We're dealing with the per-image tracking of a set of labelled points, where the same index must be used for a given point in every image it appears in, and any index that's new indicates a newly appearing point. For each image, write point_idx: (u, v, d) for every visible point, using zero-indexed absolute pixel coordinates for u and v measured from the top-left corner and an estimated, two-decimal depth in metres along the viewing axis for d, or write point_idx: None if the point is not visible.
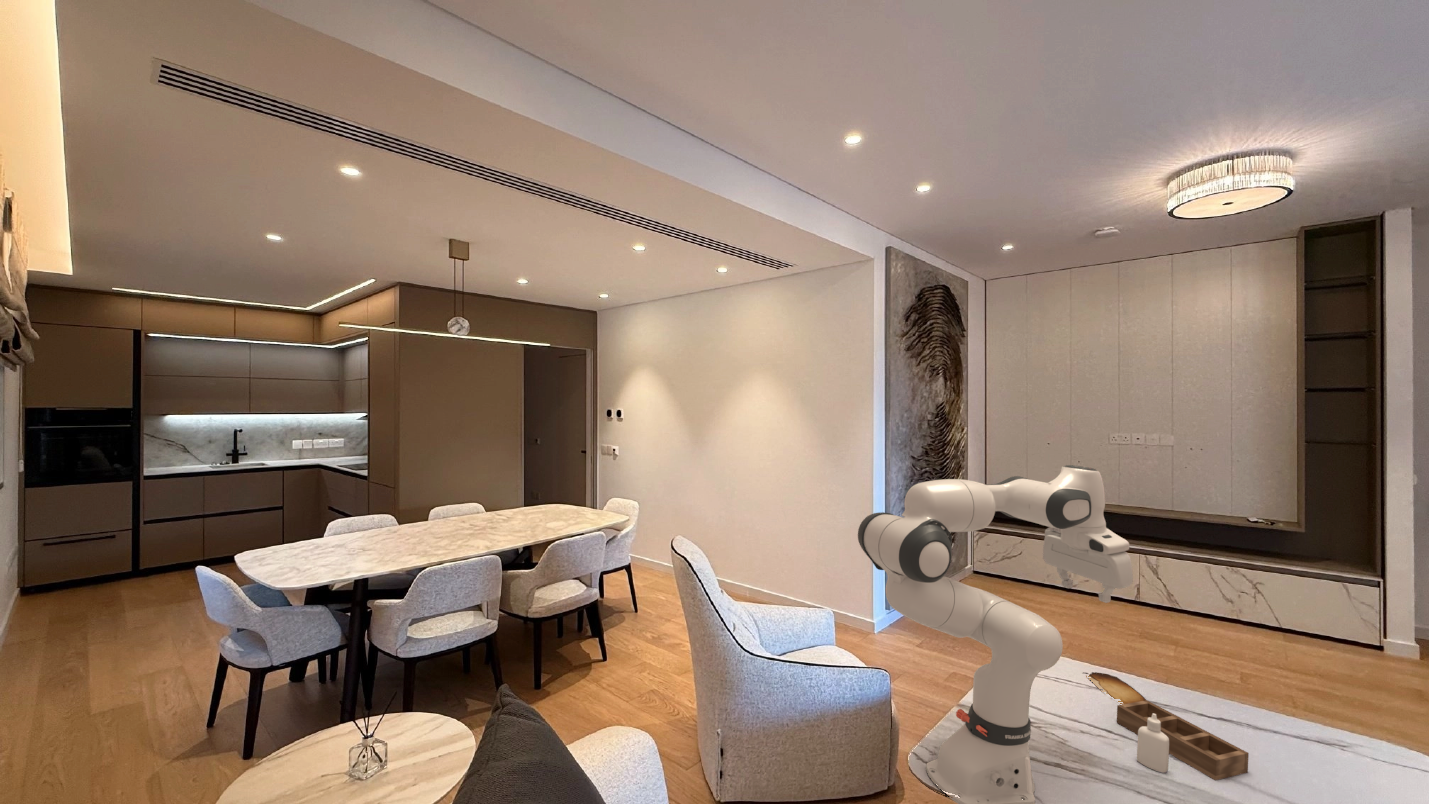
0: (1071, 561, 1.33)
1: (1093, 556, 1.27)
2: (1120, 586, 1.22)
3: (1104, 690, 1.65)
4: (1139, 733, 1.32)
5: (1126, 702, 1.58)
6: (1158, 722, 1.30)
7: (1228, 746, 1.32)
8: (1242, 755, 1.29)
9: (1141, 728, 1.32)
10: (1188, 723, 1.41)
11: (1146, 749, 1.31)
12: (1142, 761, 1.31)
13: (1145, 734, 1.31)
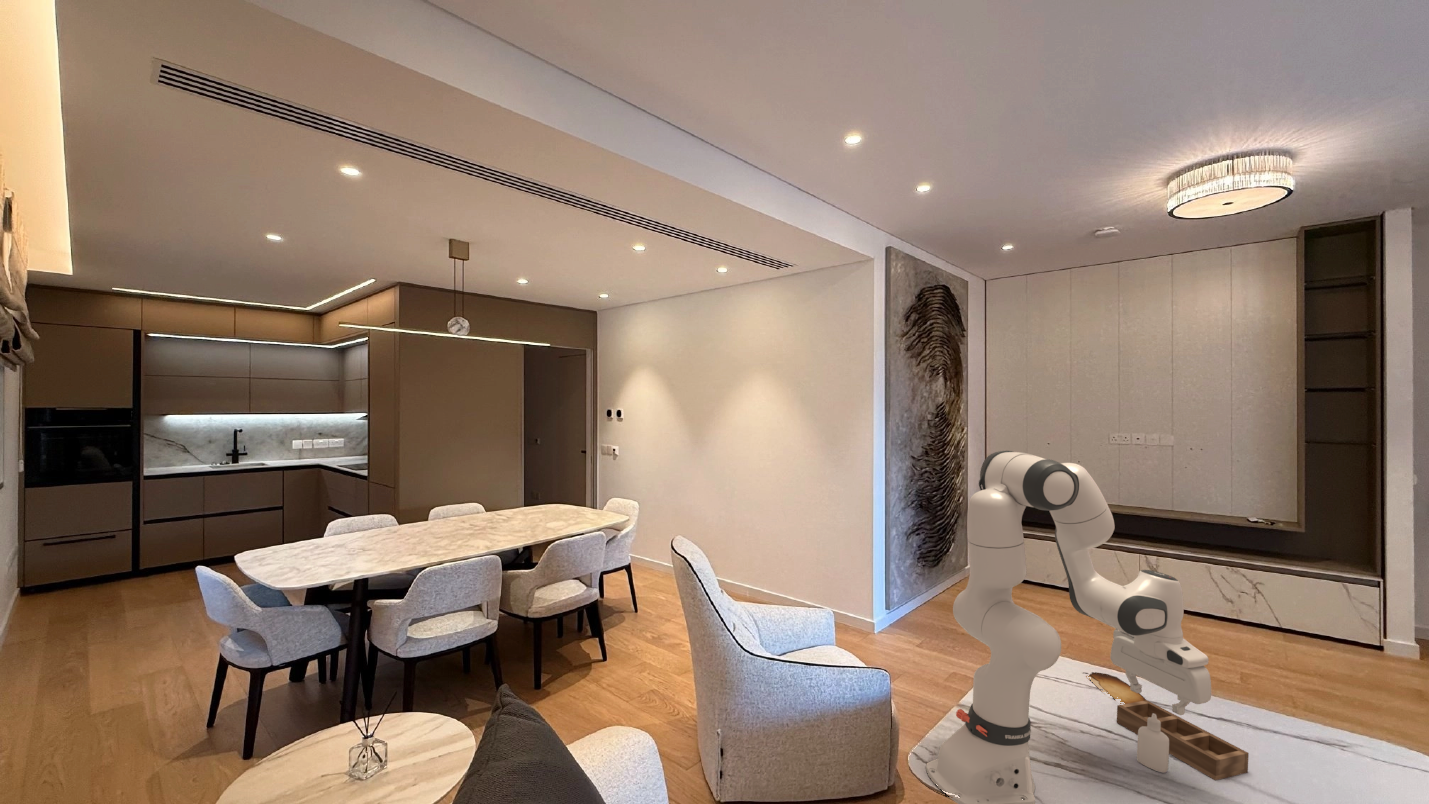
0: (1143, 667, 1.32)
1: (1169, 666, 1.26)
2: (1198, 702, 1.21)
3: (1104, 690, 1.65)
4: (1139, 733, 1.32)
5: (1126, 702, 1.58)
6: (1158, 722, 1.30)
7: (1228, 746, 1.32)
8: (1242, 755, 1.29)
9: (1141, 728, 1.32)
10: (1188, 723, 1.41)
11: (1146, 749, 1.31)
12: (1142, 761, 1.31)
13: (1145, 734, 1.31)
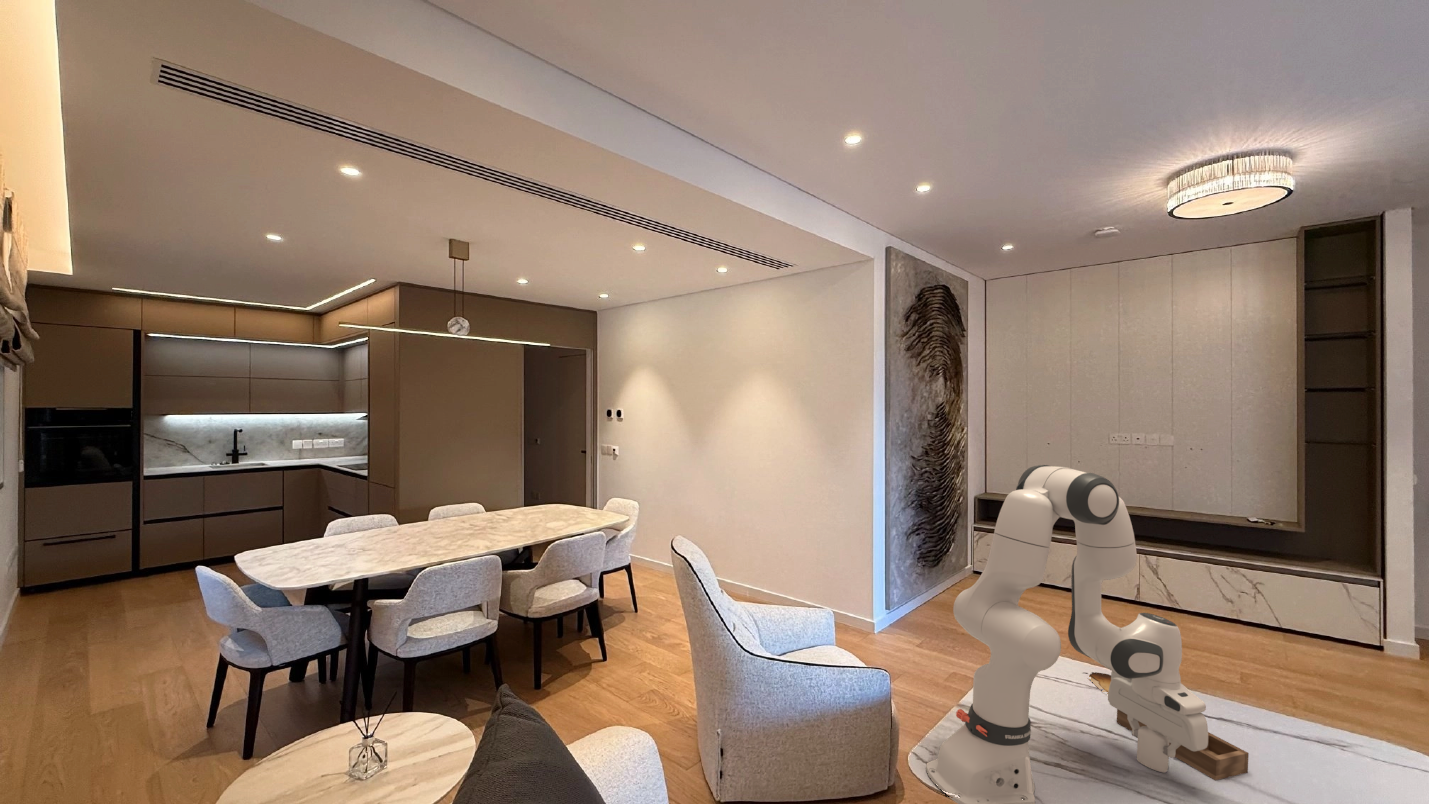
0: (1140, 711, 1.32)
1: (1166, 712, 1.27)
2: (1195, 749, 1.21)
3: (1104, 690, 1.65)
4: (1139, 733, 1.32)
5: None
6: None
7: (1228, 746, 1.32)
8: (1242, 755, 1.29)
9: (1141, 728, 1.32)
10: None
11: (1146, 749, 1.31)
12: (1142, 761, 1.31)
13: (1145, 734, 1.31)
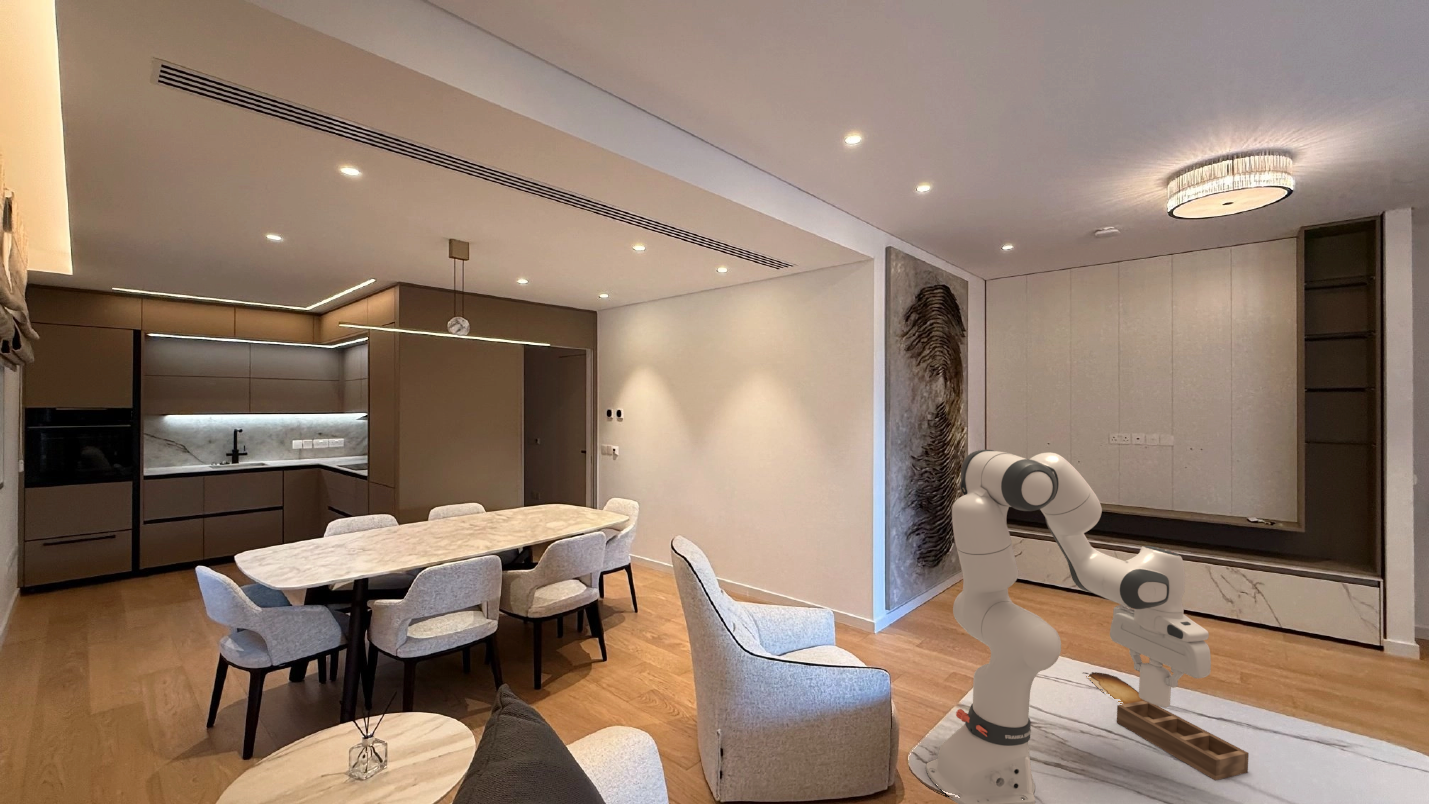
0: (1142, 643, 1.32)
1: (1169, 641, 1.26)
2: (1198, 676, 1.21)
3: (1104, 690, 1.65)
4: (1141, 669, 1.32)
5: (1126, 702, 1.58)
6: None
7: (1228, 746, 1.32)
8: (1242, 755, 1.29)
9: (1143, 664, 1.32)
10: (1188, 723, 1.41)
11: (1148, 684, 1.30)
12: (1144, 697, 1.31)
13: (1147, 669, 1.31)
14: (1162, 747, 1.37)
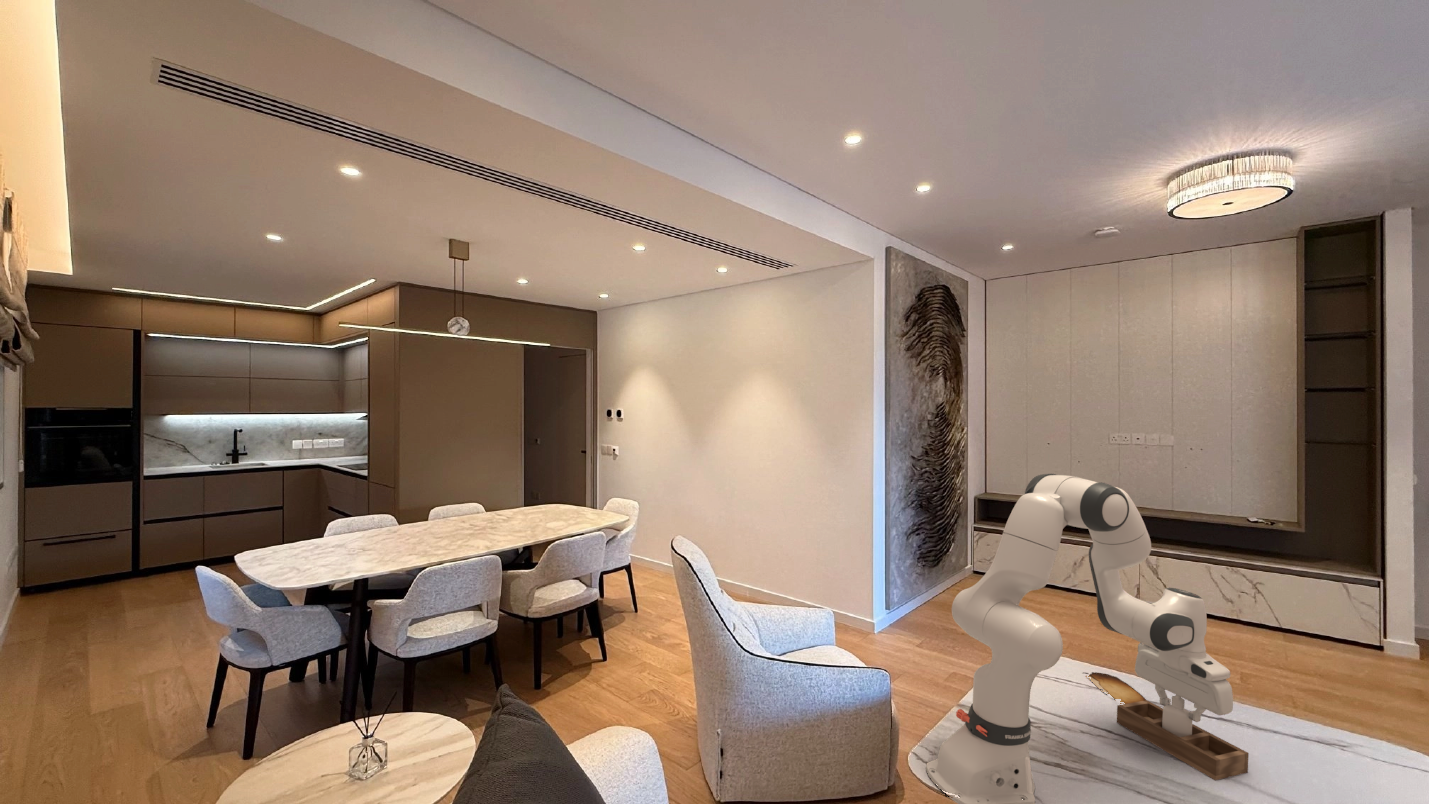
0: (1167, 680, 1.40)
1: (1193, 679, 1.34)
2: (1221, 713, 1.29)
3: (1104, 690, 1.65)
4: (1164, 712, 1.40)
5: (1126, 702, 1.58)
6: (1182, 700, 1.38)
7: (1228, 746, 1.32)
8: (1242, 755, 1.29)
9: (1166, 707, 1.40)
10: None
11: (1172, 726, 1.38)
12: None
13: (1171, 712, 1.39)
14: (1162, 747, 1.37)
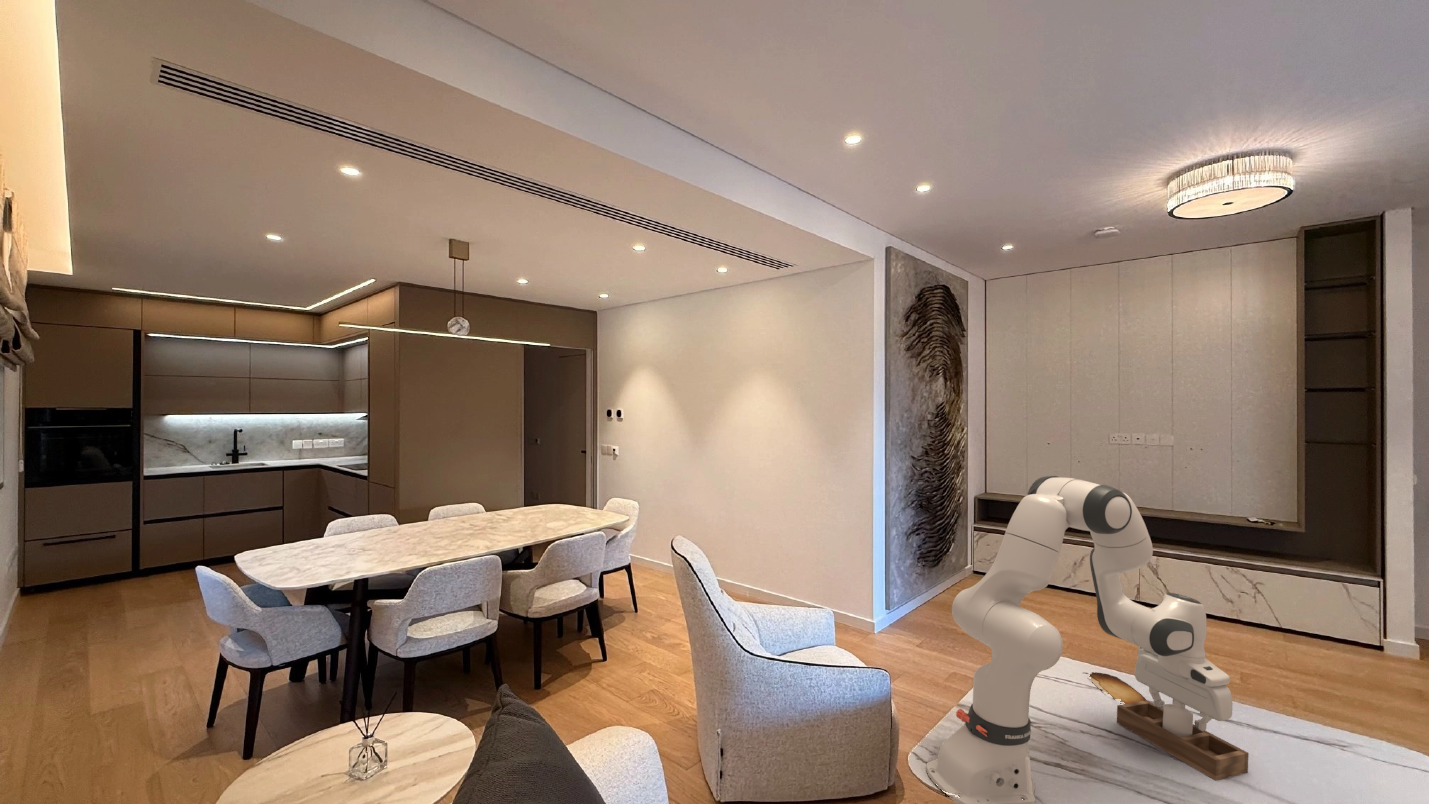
0: (1166, 685, 1.40)
1: (1192, 685, 1.34)
2: (1220, 719, 1.29)
3: (1104, 690, 1.65)
4: (1165, 711, 1.40)
5: (1126, 702, 1.58)
6: None
7: (1228, 746, 1.32)
8: (1242, 755, 1.29)
9: (1167, 706, 1.40)
10: None
11: (1173, 725, 1.38)
12: None
13: (1172, 711, 1.39)
14: (1162, 747, 1.37)
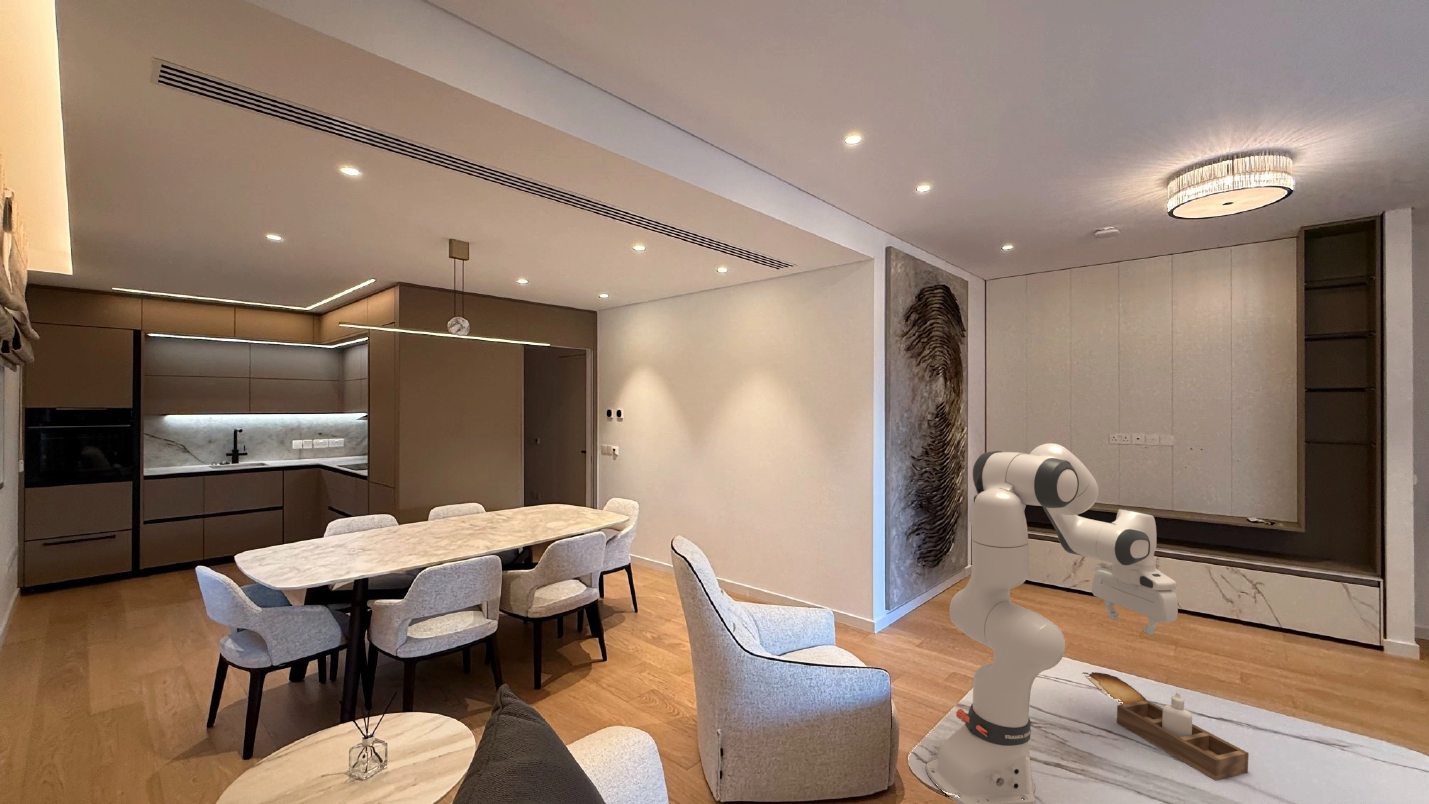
0: (1119, 595, 1.48)
1: (1142, 591, 1.42)
2: (1166, 620, 1.37)
3: (1104, 690, 1.65)
4: (1164, 712, 1.40)
5: (1126, 702, 1.58)
6: (1182, 700, 1.38)
7: (1228, 746, 1.32)
8: (1242, 755, 1.29)
9: (1166, 707, 1.40)
10: None
11: (1172, 726, 1.38)
12: None
13: (1171, 712, 1.38)
14: (1162, 747, 1.37)
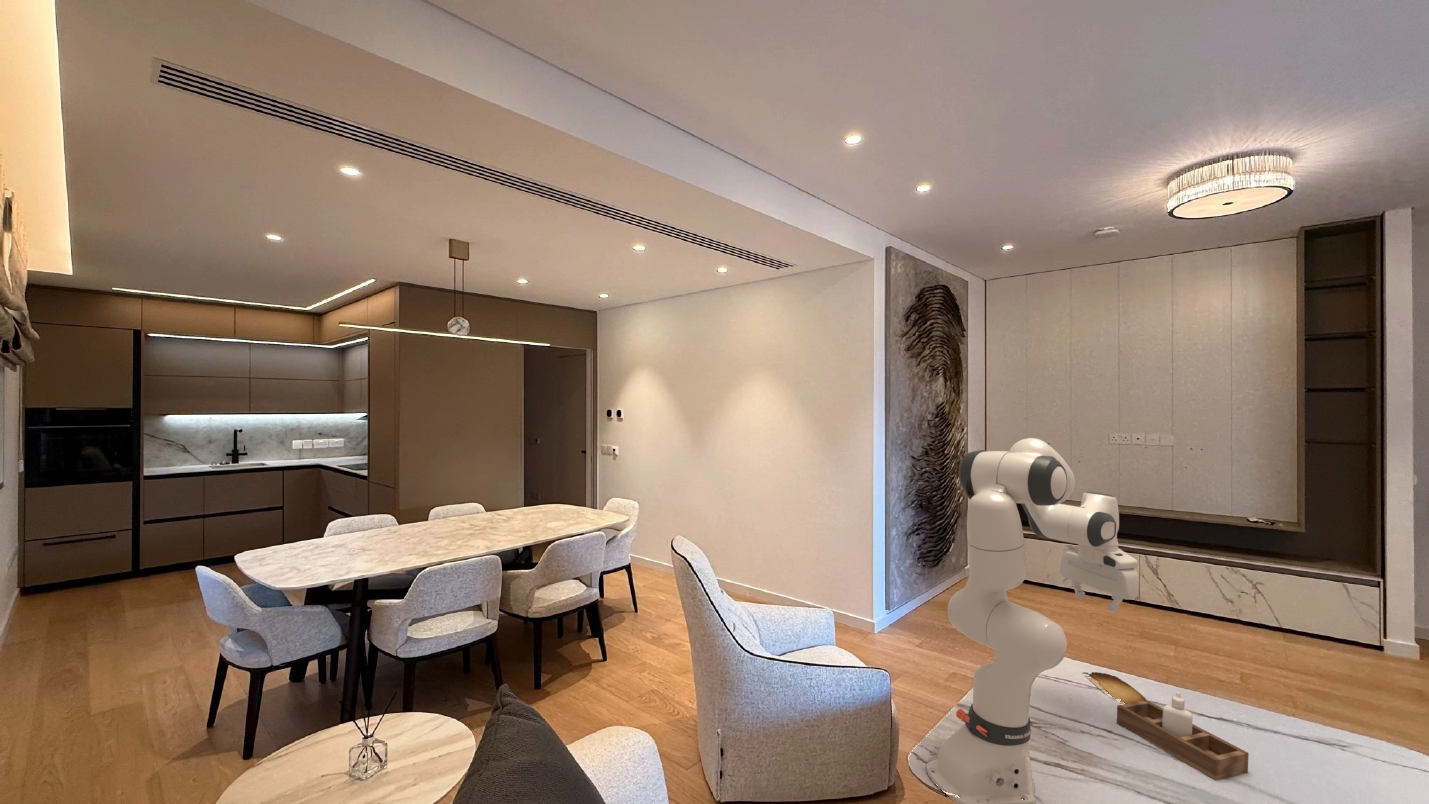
0: (1085, 575, 1.54)
1: (1105, 571, 1.48)
2: (1128, 597, 1.43)
3: (1104, 690, 1.65)
4: (1165, 712, 1.40)
5: (1126, 702, 1.58)
6: (1183, 700, 1.38)
7: (1228, 746, 1.32)
8: (1242, 755, 1.29)
9: (1166, 707, 1.40)
10: None
11: (1173, 726, 1.38)
12: None
13: (1171, 712, 1.39)
14: (1162, 747, 1.37)
